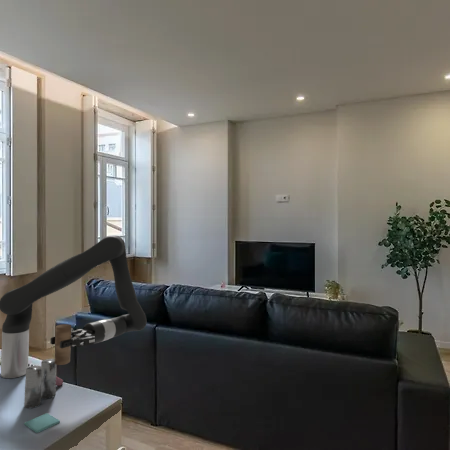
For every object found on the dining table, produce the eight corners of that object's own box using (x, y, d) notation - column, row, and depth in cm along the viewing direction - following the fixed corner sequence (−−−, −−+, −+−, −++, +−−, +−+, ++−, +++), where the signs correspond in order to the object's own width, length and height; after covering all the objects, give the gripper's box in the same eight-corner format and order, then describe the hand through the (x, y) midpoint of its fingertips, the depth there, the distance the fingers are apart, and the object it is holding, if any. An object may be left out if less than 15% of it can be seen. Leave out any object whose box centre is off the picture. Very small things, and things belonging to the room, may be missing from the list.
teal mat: (24, 424, 110) (24, 422, 110) (46, 414, 115) (46, 412, 115) (37, 433, 106) (37, 431, 106) (59, 422, 112) (59, 420, 112)
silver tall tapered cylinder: (21, 405, 120) (23, 368, 120) (35, 399, 124) (37, 364, 124) (29, 409, 118) (31, 372, 118) (43, 404, 122) (45, 368, 122)
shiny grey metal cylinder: (37, 395, 127) (38, 361, 127) (50, 390, 131) (51, 357, 131) (45, 400, 124) (46, 365, 124) (58, 394, 128) (59, 361, 128)
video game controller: (37, 386, 137) (30, 372, 134) (47, 376, 141) (40, 363, 138) (55, 393, 133) (48, 379, 130) (65, 383, 136) (58, 369, 133)
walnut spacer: (51, 362, 121) (52, 326, 121) (64, 357, 125) (65, 323, 125) (60, 366, 119) (61, 329, 118) (73, 361, 123) (74, 326, 122)
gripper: (87, 317, 138) (44, 327, 123) (112, 325, 130) (69, 336, 115) (86, 337, 138) (43, 349, 124) (111, 346, 130) (67, 360, 116)
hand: (55, 343), depth 120 cm, fingers closed on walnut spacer, 4 cm apart
